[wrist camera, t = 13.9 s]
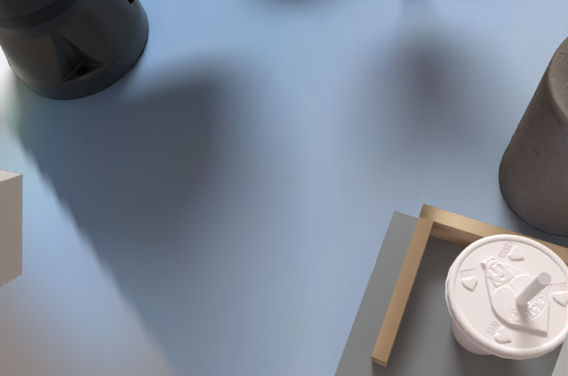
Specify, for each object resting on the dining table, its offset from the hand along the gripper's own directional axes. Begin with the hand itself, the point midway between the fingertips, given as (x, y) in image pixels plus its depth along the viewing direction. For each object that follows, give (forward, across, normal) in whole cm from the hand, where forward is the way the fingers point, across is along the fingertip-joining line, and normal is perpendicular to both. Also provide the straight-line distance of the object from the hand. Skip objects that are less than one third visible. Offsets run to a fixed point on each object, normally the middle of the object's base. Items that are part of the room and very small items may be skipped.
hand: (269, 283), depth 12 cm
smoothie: (+22, +11, -11) cm, 28 cm away
